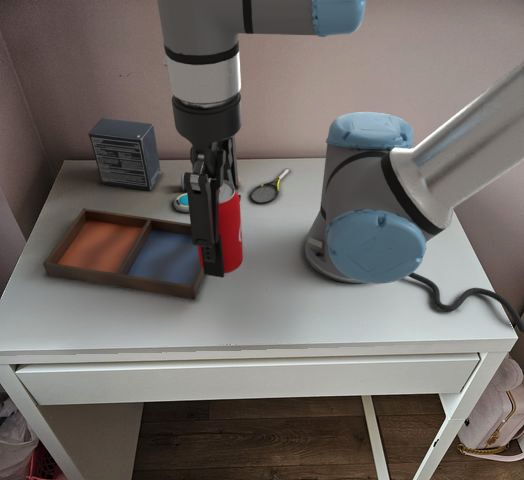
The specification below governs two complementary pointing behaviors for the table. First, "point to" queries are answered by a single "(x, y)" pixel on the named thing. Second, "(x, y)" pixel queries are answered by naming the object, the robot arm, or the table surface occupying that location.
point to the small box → (126, 153)
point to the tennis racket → (269, 189)
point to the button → (182, 203)
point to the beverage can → (229, 227)
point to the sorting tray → (129, 254)
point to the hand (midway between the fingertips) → (221, 257)
